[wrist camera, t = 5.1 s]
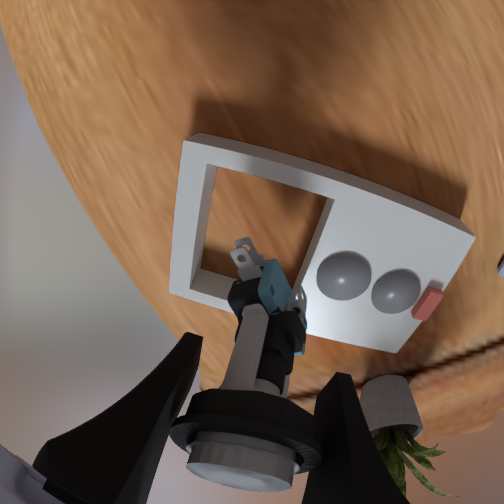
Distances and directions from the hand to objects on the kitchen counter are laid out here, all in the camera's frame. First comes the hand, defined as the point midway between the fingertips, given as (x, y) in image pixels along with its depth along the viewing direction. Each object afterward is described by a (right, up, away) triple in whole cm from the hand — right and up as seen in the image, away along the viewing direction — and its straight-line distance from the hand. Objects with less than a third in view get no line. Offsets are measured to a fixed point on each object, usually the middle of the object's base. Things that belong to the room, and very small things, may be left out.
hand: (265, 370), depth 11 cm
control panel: (+4, +5, +9) cm, 11 cm away
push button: (+1, +3, +5) cm, 6 cm away
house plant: (+12, -10, +16) cm, 22 cm away
